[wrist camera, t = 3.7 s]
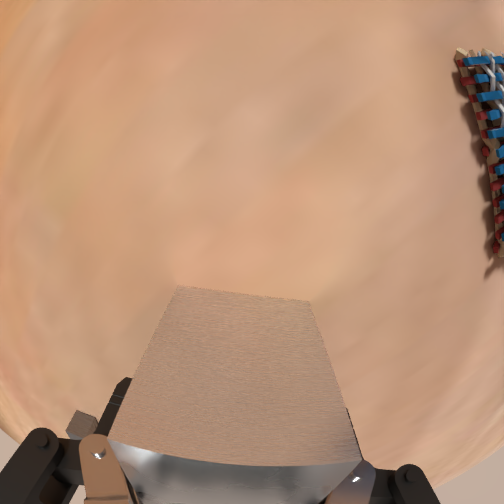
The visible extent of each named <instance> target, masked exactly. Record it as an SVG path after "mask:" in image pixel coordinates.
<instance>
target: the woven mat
mask: <svg viewBox="0 0 504 504" xmlns="http://www.w3.org/2000/svg"><path fill="white" fill-rule="evenodd" d="M469 53H470V55H471V57H468V52H466V51H465V50H463V49H461V48H459V47H458V48H457V50H456V56H455V60H456V62H457V65H458V67H459V70H460V72H461V75H462V78H460V82H461V84H462V85H463V86H466V88H467V90H468V93H469V95H468V97H469V100H470V102H471V103H472V105H473V109H474V112H475V115H476V119H477V122H478V126H479V130H480V133H481V137H482V140H483V141H484V142H485V144H486V145H485V146H483V148H482V152H483V156H488V157H487V165H488V171H489V176H490V189H491V190H492V198H493V200H492V201H493V207H494V222H495V238H496V239H498V240H496V241H495V242H494V246H493V252H494V253H497V254H498V257H499V258H500V257H504V225H503V221H504V194H502V195H500V188H502V193H504V69H503V66H504V54H503V53H502V52H501V54H502V55H503V56H502V57H501V56H496V54H494V53H493V52H491V51H489V50H487V49H485V48H483V49H482V51H481V53H480V51H478V56H477V57H476V55H475V53H474V51H473V50H469ZM481 55H482V56H481ZM468 67H475V69H476V72H477V74H476V75H474V76H471V74H470V71H469V69H468ZM481 67H482V68H483V69H484V70H485V71H486V73H487V74H484V72H483V70H482V68H481ZM488 67H489V68H488ZM499 81H502V83H501V82H499ZM488 82H490V87H489V84H488ZM475 84H481V87H482V89H483V92H484V93H477V90H476V87H475ZM483 101H486V102H487V103H488V104H489V105H490V106H491V108H489V109H487V110H483V108H482V105H481V102H483ZM486 119H488V120H493V122H492V123H493V127H491V128H488V126H487V122H486ZM500 159H501V160H500ZM499 160H500V161H499ZM501 174H503V177H502V178H499V179H498V175H501ZM502 209H503V210H502Z"/></svg>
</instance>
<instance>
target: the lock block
mask: <svg viewBox="0 0 504 504" xmlns="http://www.w3.org/2000/svg"><path fill="white" fill-rule="evenodd" d="M107 440H108V442H109V444H110V446H111V448H112V450H113V452H114V454H115V456H116V458H117V460H118V462H119V464H120V466H121V468H122V469H123V471H124V473H125V475H126V477H127V478H128V480H129V482H130V483H131V485H132V487H133V488H134V490H135V492H136V493H137V495H138V496H139V498H140V500H141V501H142V503H143V504H318V503H319V502H321V501H322V500H323V499H324V498H325V497H326V496H327V495H328V494H329V493H330V492H331V491H333V490H334V489H335V488H336V487H337V486H338V485H339V484H340V483H341V482H342V481H343V480H344V479H345V478H346V477H347V476H348V475H349V474H350V473H351V471H352V470H353V469H354V468H355V467H356V466H357V465H358V464H359V463H360V462H361V461H362V458H361V454H360V451H359V448H358V444H357V441H356V438H355V435H354V432H353V428H352V425H351V422H350V419H349V416H348V413H347V410H346V407H345V404H344V401H343V398H342V395H341V392H340V389H339V386H338V383H337V380H336V377H335V374H334V371H333V368H332V365H331V362H330V360H329V357H328V354H327V351H326V348H325V345H324V343H323V340H322V337H321V334H320V331H319V329H318V326H317V323H316V321H315V318H314V315H313V312H312V310H311V307H310V304H309V302H308V301H304V300H294V299H284V298H275V297H266V296H258V295H249V294H241V293H233V292H226V291H218V290H211V289H204V288H196V287H190V286H183V285H178V287H177V289H176V291H175V293H174V295H173V297H172V299H171V301H170V303H169V304H168V306H167V308H166V310H165V312H164V314H163V316H162V318H161V320H160V322H159V324H158V326H157V328H156V330H155V333H154V335H153V337H152V339H151V341H150V343H149V345H148V347H147V349H146V351H145V353H144V355H143V357H142V360H141V362H140V364H139V366H138V368H137V370H136V373H135V375H134V377H133V379H132V381H131V383H130V386H129V388H128V390H127V392H126V395H125V397H124V399H123V401H122V404H121V406H120V408H119V411H118V413H117V415H116V418H115V420H114V422H113V425H112V427H111V430H110V432H109V434H108V437H107Z"/></svg>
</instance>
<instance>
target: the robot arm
mask: <svg viewBox="0 0 504 504" xmlns="http://www.w3.org/2000/svg"><path fill="white" fill-rule="evenodd" d="M131 381H132V378H128V377H126V378H124V379H123V380H122V381H121V382H119V383H118V384H117V386H116V388H115V390H114V392H113V395H112V396H111V398H110V400H109V403H108V404H107V406H106V409H105V411H104V413H103V415H102V417H101V419H100V421H99V423H98V426H97V428H96V430H95V431H94V433H93V434H91V435H88V436H86V437H84V438H83V439H81V440H73V439H64V438H58V437H57V436H56V434H55V433H54V432H53V431H51V430H49V429H47V428H36V429H34V430H32V431H31V432H30V433H29V434H28V436H27V437H26V438H25V440H24V441H23V442H22V444H21V445H20V446H19V448H18V449H17V451H16V452H15V453H14V454H13V456H12V457H11V459H10V460H9V461H8V463H7V464H6V466H5V467H4V468H3V470H2V471H1V473H0V504H69V502H70V500H71V499H72V497H73V495H74V493H75V491H76V489H77V488H78V486H79V485H85V490H86V499H84V504H139V502H138V499H137V496H136V493H135V490H134V488H133V487H132V485H131V483H130V482H129V480H128V478H127V477H126V475H125V473H124V471H123V469H122V468H121V466H120V464H119V462H118V460H117V458H116V456H115V454H114V452H113V450H112V448H111V446H110V444H109V442H108V440H107V437H108V434H109V432H110V430H111V427H112V425H113V422H114V420H115V418H116V415H117V413H118V411H119V408H120V406H121V404H122V401H123V399H124V397H125V395H126V392H127V390H128V388H129V386H130V383H131ZM346 410H347V408H346ZM347 413H348V410H347ZM348 416H349V413H348ZM349 419H350V416H349ZM350 422H351V421H350ZM351 425H352V422H351ZM352 428H353V425H352ZM353 432H354V435H355V438H356V434H355V431H354V429H353ZM356 441H357V438H356ZM357 444H358V441H357ZM358 448H359V451H360V454H361V450H360V447H359V444H358ZM361 458H362V461H361V462H360V463H359V464H358V465H357V466H356V467H355V468H354V469H353V470H352V471H351V473H350V474H349V475H348V476H347V477H346V478H345V479H344V480H343V481H342V482H341V483H340V484H339V485H338V486H337V487H336V488H335V489H334V490H333V491H331V492H330V493H329V494H328V495H327V496H326V497H325V498H324V499H323V500H322V501H321V502H319V503H318V504H440V502H439V500H438V498H437V496H436V494H435V493H434V491H433V489H432V487H431V485H430V483H429V482H428V480H427V478H426V476H425V474H424V473H423V471H422V470H421V469H420V468H419V467H418V466H416V465H413V464H406V465H403V466H401V467H400V468H399V469H398V470H397V471H395V470H383V469H377V468H374V467H373V466H372V465H371V464H370V463H369V462H367V461H365V460H364V459H363V457H362V454H361Z"/></svg>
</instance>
